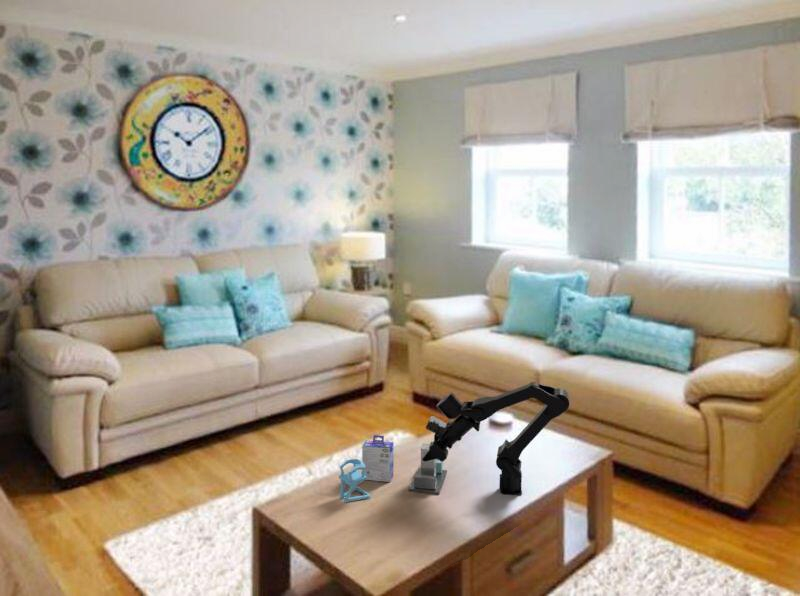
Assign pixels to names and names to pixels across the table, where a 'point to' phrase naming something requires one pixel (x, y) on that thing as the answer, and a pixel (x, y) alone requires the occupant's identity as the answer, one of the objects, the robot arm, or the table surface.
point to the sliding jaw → (438, 466)
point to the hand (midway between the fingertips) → (424, 457)
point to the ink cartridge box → (378, 459)
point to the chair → (352, 480)
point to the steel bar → (427, 462)
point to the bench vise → (427, 482)
